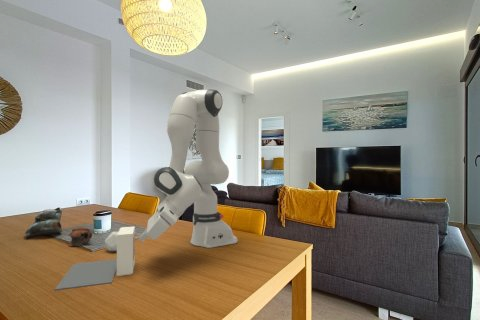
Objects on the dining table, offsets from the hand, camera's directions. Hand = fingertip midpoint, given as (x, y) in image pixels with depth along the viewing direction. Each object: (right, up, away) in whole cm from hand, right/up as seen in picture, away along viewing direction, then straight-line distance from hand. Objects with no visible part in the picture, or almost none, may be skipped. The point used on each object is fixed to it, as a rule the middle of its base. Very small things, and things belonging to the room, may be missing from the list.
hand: (140, 239), depth 95 cm
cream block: (-5, -10, -1) cm, 11 cm away
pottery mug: (-37, -10, +26) cm, 46 cm away
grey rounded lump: (-64, -10, +38) cm, 76 cm away
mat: (-15, -10, -5) cm, 19 cm away
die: (-17, -10, +18) cm, 27 cm away
